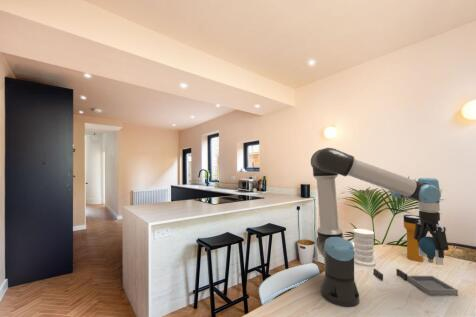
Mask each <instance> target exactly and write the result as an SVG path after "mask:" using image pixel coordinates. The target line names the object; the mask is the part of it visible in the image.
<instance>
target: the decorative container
mask: <svg viewBox="0 0 476 317" xmlns="http://www.w3.org/2000/svg"><path fill="white" fill-rule="evenodd" d="M352 233H353V240H354V241H353V247H354V252H355V254H354V264H356V265H359V266H362V267H365V268H366V267H367V268H369V267H371V268H372V267H374V266H376V261H375V260H374V247H375V246H374V235H375V232H374V231H373V230H370V229H365V228H354V229H352Z"/></svg>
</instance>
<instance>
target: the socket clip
mask: <svg viewBox="0 0 476 317" xmlns="http://www.w3.org/2000/svg"><path fill="white" fill-rule="evenodd" d="M395 270H396V275H397V277H399V278H401V279H402V280H404V282H405V281H407V276H408V274H407V273H406V272H404V271H403V270H401V269H399V268H396V269H395ZM373 276H374V277H376V278H377V279H378V280H379V281H382V282H383V281H384V274H383V273H382V272H380V271H379V270H378V269H376V268H373ZM407 282H408V281H407Z"/></svg>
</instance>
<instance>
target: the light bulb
mask: <svg viewBox="0 0 476 317" xmlns="http://www.w3.org/2000/svg"><path fill="white" fill-rule="evenodd" d="M419 247H420V249H421V250H422V251H423V252H424V253H425V254H426V258H427V262H428V263H430V264H433V263H434V260H435V249H437V248H436V245H435V242H434V240H433V237H432V236H426V237H423V238H421V239H420V241H419Z"/></svg>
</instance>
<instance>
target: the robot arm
mask: <svg viewBox="0 0 476 317" xmlns="http://www.w3.org/2000/svg"><path fill="white" fill-rule="evenodd" d="M310 166H311V167H312V177H314V178H315V179H316V190H317V201H318V216H319V227H318V228H317V230H316V233H317V237H316V247H317V249H318V251H319V253H320V254H321V255H322V257H323V259H324V276H323V280H322V282H321V285H320V294H321V296H322V298H323V299H325V300H327V301H328V302H329V303H332V304H334V305H336V306H341V307H355V306H357V305H359V303H360V293H359V291H358V290H359V289H358V287H357V284H356V280H355V263H354V257H355V255H354V254H355V252H354V243H352V242H351V241H350V240H348V239H345V238H344V237H343V236H344V235H343V230H342V229H341V228H340V227H339V213H338V203H337V202H338V201H337V200H338V199H337V190H336V189H337V188H336V178H337V177H338V176H339V175H340V176H343V177H347V176H349V177H352V178H354V179H358V180H360V181H363V182H366V183H369V184H371V185H373V186H377V187H380V188H382V189H384V190H388V191H389V194H390V195H391V196H392V198H394V199H395V198H396V199H408V200H410V201H411V200H412V201H416V202H418V216H419V218H420V219H421V220H415V223H416V227H415V234H414V239H416V240H417V241H418V248H419V256H420V257H426V258H427V255H426V254H425V253H424V252H423V251H422V250H421V249H420V247H419V241H420V239H421V238H423V237H427V235H428V233H430V235H431V237H433V240H434V242H435V245H436V248H437V249H435V257H434V259H435V265H437V266H441V265H442V266H443V265H444V258H445V251H449V244H448V239H447V234H446V231H447V230H446V229H447V228H446V227H445V226H442V225H440V223H439V222H440V221H441V213H440V210H441V209H440V207H441V206H440V199H441V197H442V192H441V190H440V181H439V180H438V178H435V177H434V178H433V177H418V178H417V180H414V179H412V178H408V177H407V176H404V175H403V176H402V175H400V174H398V173H395V172H392V171H390V170H386V169H383V168H381V167H378V166H375V165H372V164H369V163H366V162H363V161H361V160H359V159H356V158H355V156H354V155H351V154H348V153H346V152H344V151H341V150H338V149H336V148H333V147H325V148H322V149H318V150H316V151H315V152H314V153H313V154H312V156H311V159H310ZM417 236H418V237H417Z"/></svg>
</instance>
